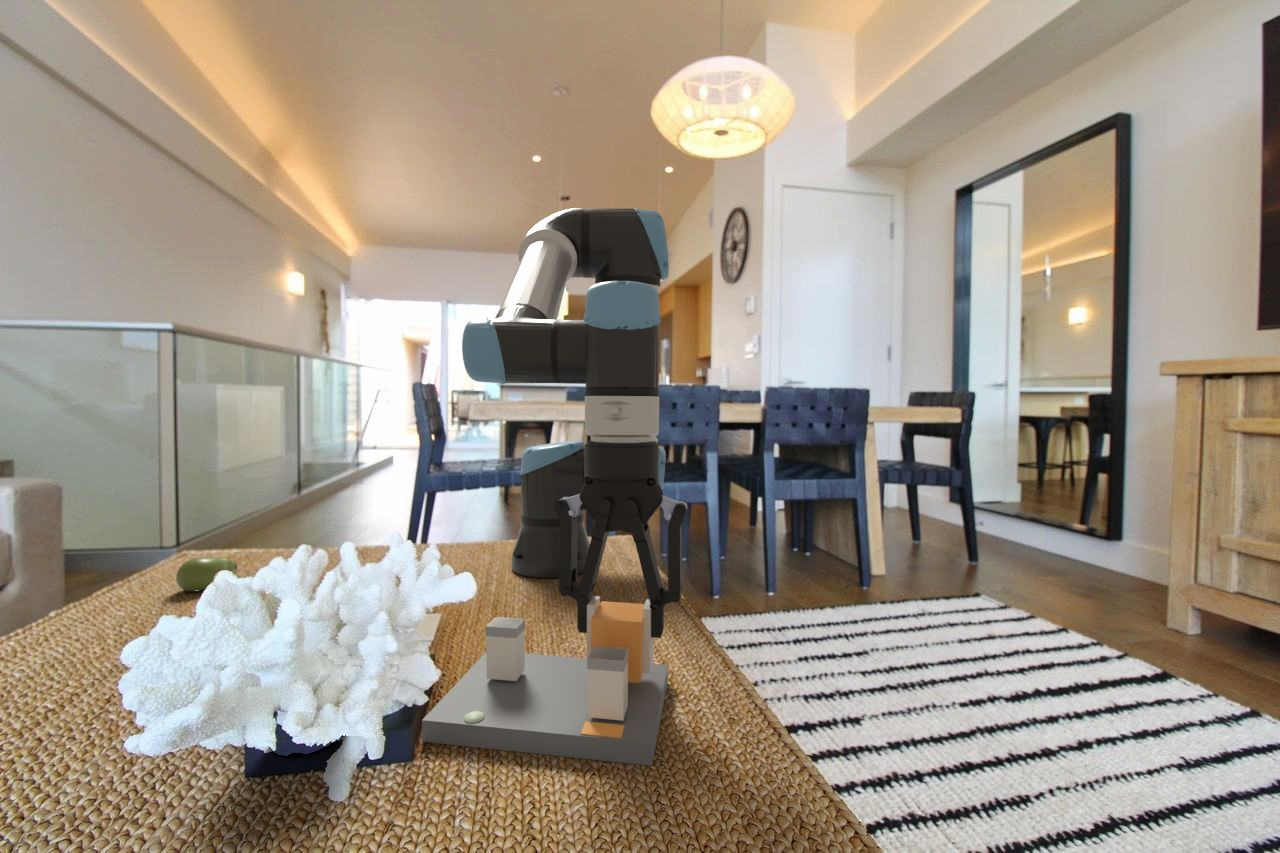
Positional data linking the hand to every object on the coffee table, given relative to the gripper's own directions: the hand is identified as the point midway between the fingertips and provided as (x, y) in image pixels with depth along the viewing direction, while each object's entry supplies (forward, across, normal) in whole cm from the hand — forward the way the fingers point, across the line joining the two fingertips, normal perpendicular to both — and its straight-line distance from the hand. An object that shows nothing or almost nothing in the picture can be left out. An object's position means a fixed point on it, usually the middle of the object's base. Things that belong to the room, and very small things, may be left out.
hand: (620, 664), depth 56 cm
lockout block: (0, 0, 0) cm, 0 cm away
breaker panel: (+4, -6, -2) cm, 8 cm away
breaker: (+2, -12, -1) cm, 12 cm away
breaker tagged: (+2, 0, -6) cm, 6 cm away
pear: (+4, -74, +24) cm, 78 cm away
